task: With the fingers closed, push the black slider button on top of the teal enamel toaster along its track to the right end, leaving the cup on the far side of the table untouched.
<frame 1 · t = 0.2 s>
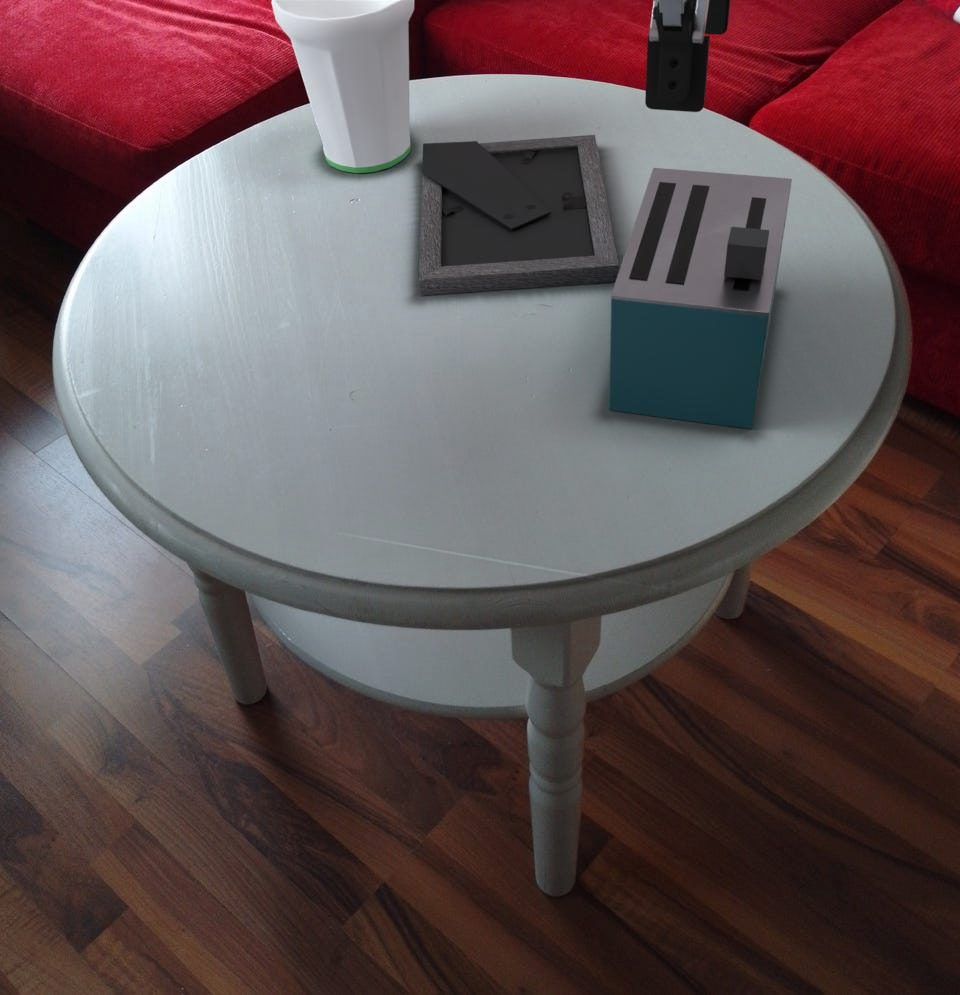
hand: (688, 68, 63), 23 cm above the table, tool pointing down, fingers open, 9 cm apart
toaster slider: (746, 253, 70), point 11 cm above the table, slide at 0.0 cm
cup: (368, 152, 106), on the table
toaster: (695, 348, 82), on the table
picture frame: (514, 219, 96), on the table
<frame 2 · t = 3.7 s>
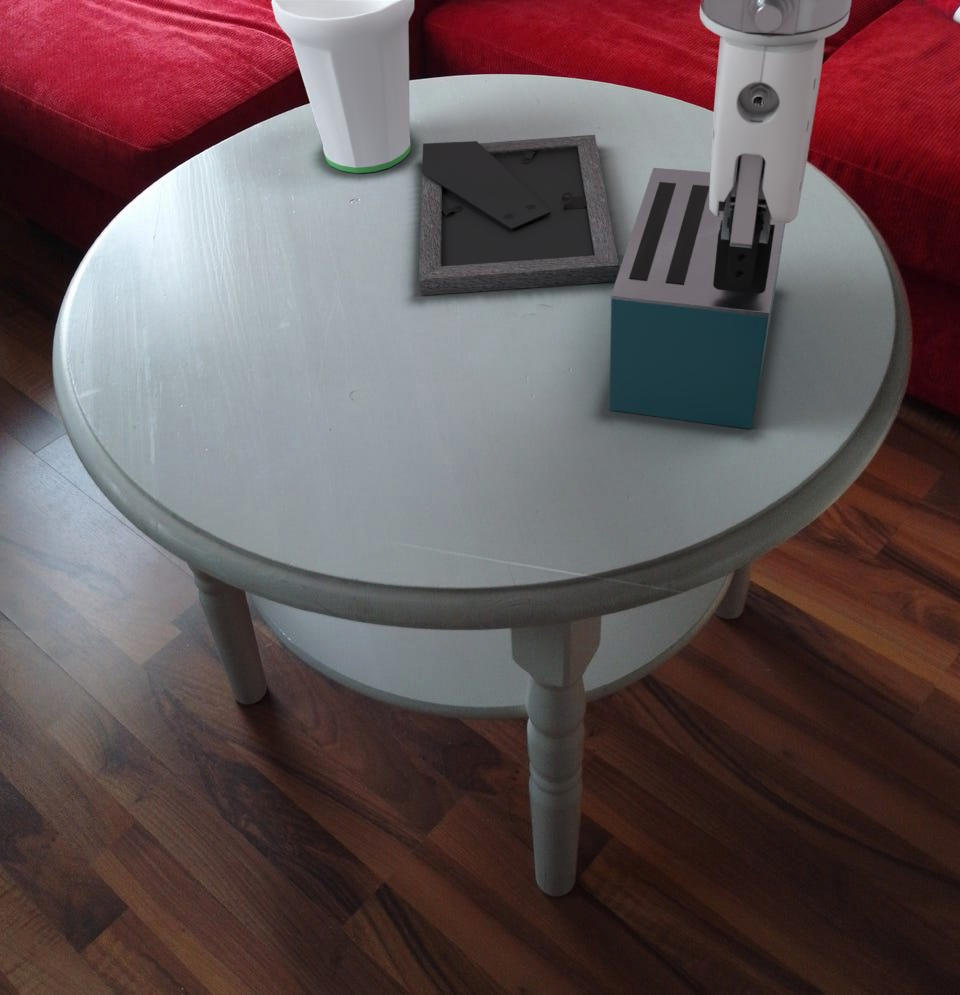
hand: (740, 283, 69), 11 cm above the table, tool pointing down, fingers closed
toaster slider: (746, 252, 70), point 11 cm above the table, slide at 0.1 cm, touching gripper
everything else where it was.
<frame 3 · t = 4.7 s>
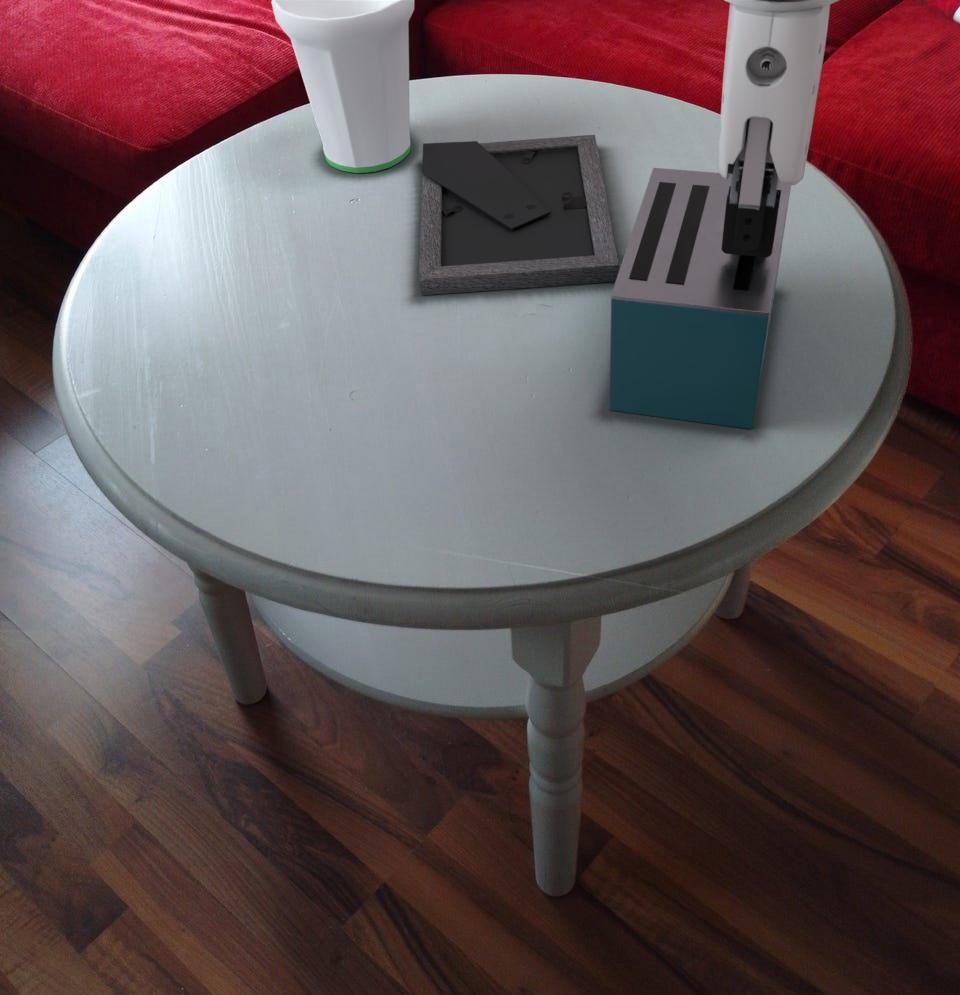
hand: (747, 248, 71), 11 cm above the table, tool pointing down, fingers closed
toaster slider: (753, 218, 73), point 11 cm above the table, slide at 4.1 cm, touching gripper
everything else where it was.
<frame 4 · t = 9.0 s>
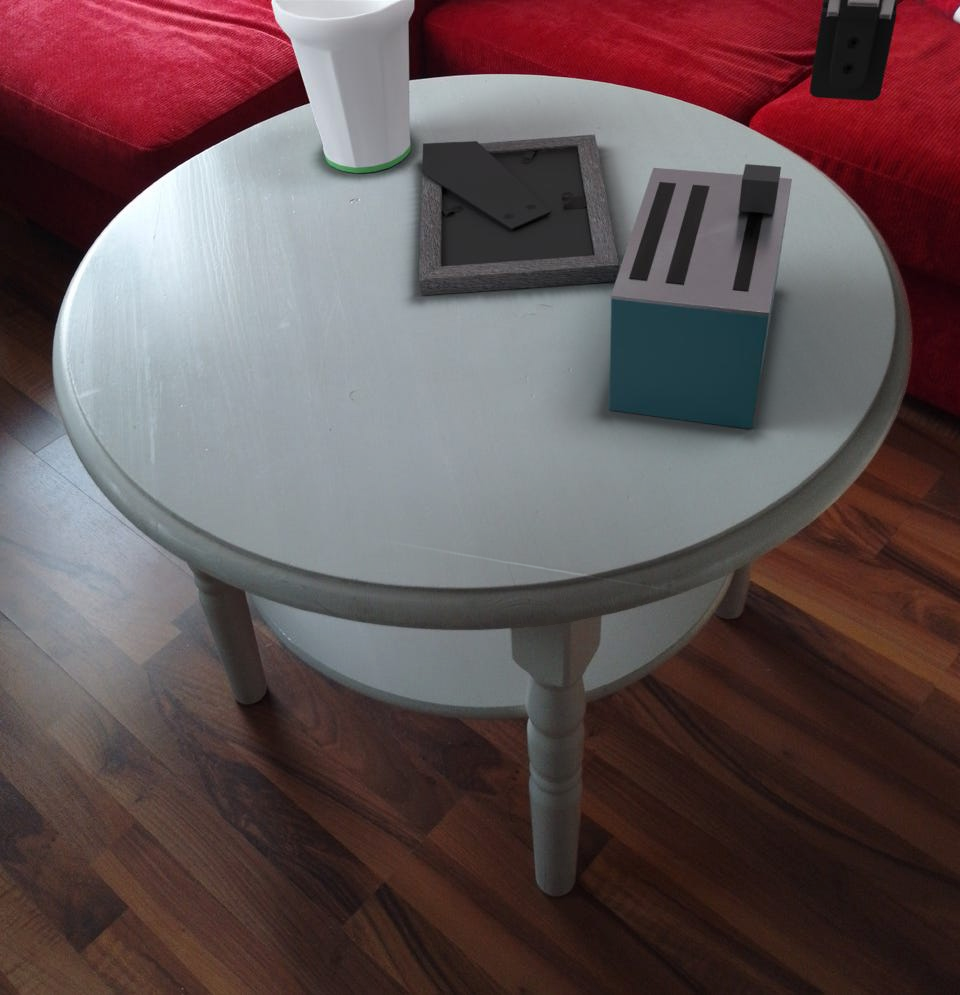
hand: (844, 90, 52), 27 cm above the table, tool pointing down, fingers closed
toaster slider: (759, 189, 75), point 11 cm above the table, slide at 7.8 cm
everything else where it was.
at the end: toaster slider slide at 7.8 cm; cup moved 0.2 cm from its start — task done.
